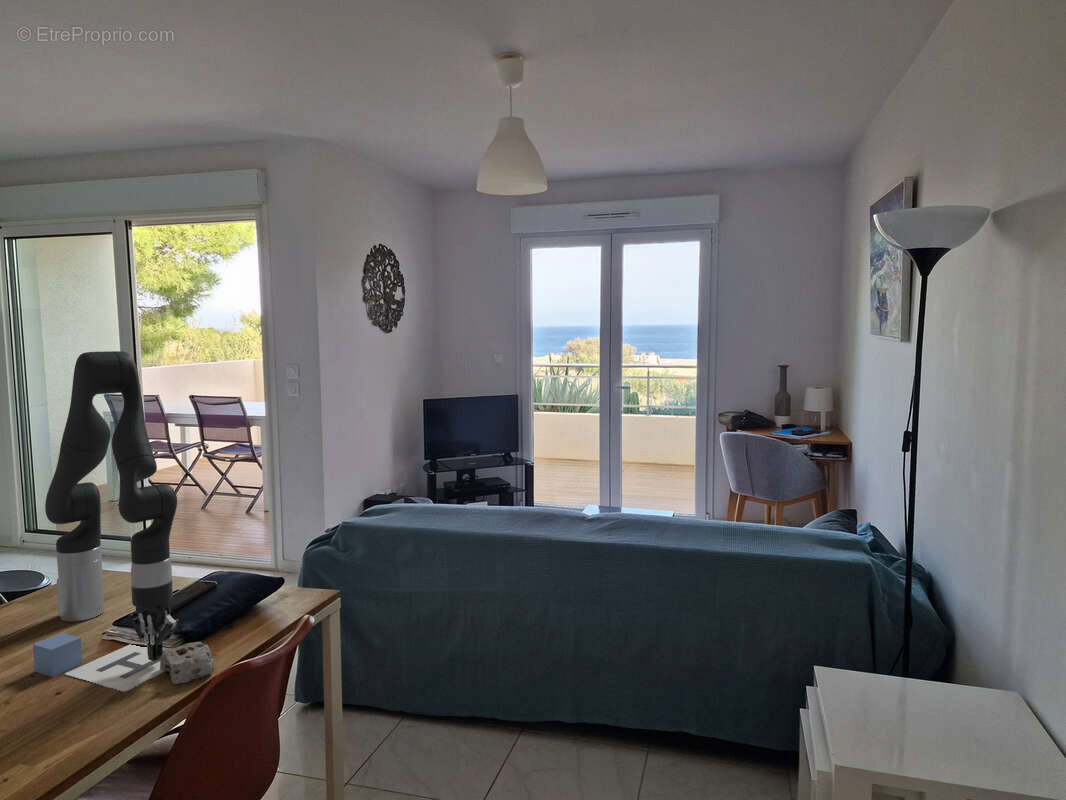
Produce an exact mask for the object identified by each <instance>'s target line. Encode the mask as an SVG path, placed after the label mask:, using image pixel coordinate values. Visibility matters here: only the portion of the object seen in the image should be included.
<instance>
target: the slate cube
mask: <svg viewBox="0 0 1066 800" xmlns="http://www.w3.org/2000/svg"><path fill="white" fill-rule="evenodd" d="M32 650H33V664H34V665H33V666H34V673H37V672H38V674H41V673H42V675H44V674H45V675H44V676H47V675H49V676H48V677H51V676H52V677H51V678H55V677H58V676H60V675H61V673H62V674H65V673H67V672H69V671H72V670H74V669H76V668H78V667H80V666H82V665H83V652H82V651H83V650H82V638H81V637H78V636H76V635H71V634H67V633H64V632H61V633H59V634H56V635H53V636H51V637H48V638H46V639H43V640H41V641H38V642H36V643H33V644H32ZM81 664H82V665H81ZM79 665H80V666H79ZM77 666H78V667H77ZM75 667H76V668H75ZM68 670H69V671H68ZM66 671H67V672H66ZM59 674H60V675H59ZM57 675H58V676H57ZM54 676H55V677H54Z"/></svg>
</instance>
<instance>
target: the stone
mask: <svg viewBox="0 0 1066 800" xmlns="http://www.w3.org/2000/svg"><path fill="white" fill-rule="evenodd" d="M163 649H164V650H163V651H162V655H161V657H160V670H161V671H163V673H166V672H168V673H169V674H170V675H169V676H170V678H171V679H170V680H171V682H172V683H173V684H174V685H176V684H182V683H183V684H185V683H188V682H190V681H192V680H197V679H199V678H202V677H205V676H208V675H210V674H212V673H214V671H215V659H214V657H213V655H212V651H211V649H210V647H209V646H208V644H204V643H203V642H202V641H195V642H189V643H187V642H186V643H185V644H183V645H179V646H177V647H172V648H168V649H167V648H163Z"/></svg>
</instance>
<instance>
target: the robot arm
mask: <svg viewBox="0 0 1066 800" xmlns="http://www.w3.org/2000/svg"><path fill="white" fill-rule="evenodd" d="M72 377H73V378H72V387H71V394H70V395H71V396H70V405H69V409H68V415H67V418H66V423H65V426H64V430H63V433H62V438H61V442H60V448H59V453H58V459H57V463H56V467H55V471H54V474H53V476H52V480H51V482H50V484H49V487H48V491H47V493H46V498H45V504H44V507H45V508H44V509H45V515H46V518H47V520H48V521H49V522H50V523H52V524H54V525H64V524H71V523H76V522H80V523H79V524H78V525H77V526H76V527H75V528H73V529H72V530H71V531H69V532H67V533H65V534H63V535H61V536H59V538H58V539H57V540H56V542H55V547H56V548H55V549H56V563H57V579H56V591H57V592H56V594H57V607H58V609H57V610H58V617H60V620H61V621H62V622H63V621H64V622H81V621H86V620H90V619H94V618H96V616H97V617H98V615H99V616H101V615H102V614H103V613H105V595H104V578H103V562H102V561H103V559H102V558H103V557H102V544H101V536H102V528H101V527H102V526H101V525H102V522H101V520H102V519H101V517H102V515H101V514H102V513H101V512H102V510H101V509H102V508H101V507H102V506H101V494H100V490H99V488H98V486H97V485H96V484H95V483H94V482H81V483H79V482H80V481H82V480H83V479H84V478H85V477H87V476H88V475H89V474H90V473H91V472H92V471H94V470H95V469H97V467H98V466H99V465H100V464H102V462H103V461H104V459H105V458H106V455H107V452H108V449H109V444H110V441H111V449H112V455H113V456H114V461H115V464H116V467H117V468H116V469H117V472H118V477H119V495H118V496H119V497H118V512H119V515H120V516H121V518H122V519H123V520H124V521H126V522H127V523H129V524H137V523H138V524H139V523H142V522H146V521H147V522H148V521H151V520H152V522H151V524H150V525H149V526H147V527H145V528H144V529H142V530H140V531H138V532H135V533H134V534H133V535H132V536H131V538H130V551H131V552H130V553H131V554H130V555H131V557H130V558H131V567H130V584H131V585H130V587H131V604H132V606H134V607H135V610H134V612H131V613H129V614H128V615H127V618H128V620H129V621H130V624H131V626H132V627H133V629H134V631H135V633H136V634H137V637H138V638H139V639H140V640H144V643H145V644H146V645H147V651H148V652H147V653H148V659H149V660H152V661H156V660H158V659H160V657H161V655H162V651H163V649H164V648H163V647H164V646H163V643H164V642H167V641H168V640H170V639H171V637H172V636H173V635H174V633H175V632H176V629H177V628H178V627H179V625H180V620H179V619H178V618H176V619H174V618H173V617H172V616H171V615H172V613H171V612H172V610H171V608H170V603H171V601H172V600H173V597H174V595H173V592H174V591H173V588H174V587H173V571H172V570H173V569H172V563H171V562H172V561H171V553H170V551H171V550H170V549H171V548H170V537H171V531H172V527H173V523H174V519H175V515H176V511H177V507H178V497H177V493H176V491H175V489H174V488H173V487H172V486H171V485H169V484H167V483H160V484H153V485H152V484H151V485H147V486H140V487H138V482H142V481H143V480H146V479H148V478H150V477H152V476H153V475H155V474H156V473H157V470H158V469H157V468H158V466H157V461H156V459H155V455H154V453H153V448H152V446H151V442H150V438H149V436H148V431H147V427H146V419H145V411H144V404H143V397H142V390H141V389H142V388H141V383H140V377H139V372H138V367H137V364H136V361H135V359H134V357H133V355H131V354H130V353H129V352H127V351H121V350H120V351H119V350H118V351H116V350H115V351H114V350H111V351H109V350H107V351H106V350H105V351H104V350H103V351H86V352H83V353H81V354H79V356H78V357H77V359H76V361H75V365H74V370H73V375H72ZM106 394H121V395H122V396H121V397H122V399H123V407H122V408H123V409H122V411H121V414H120V417H119V420H118V423H117V425H116V426H115V429H114V432H113V433H112V434H113V435H112V434H111V428H110V427H109V424H108V422H106V420H105V418H104V417H103V416H102V414H101V413H100V412H99V410H97V408H96V407H95V405H94V403H93V401H94V398H95V396H97V395H106ZM111 435H112V436H111ZM111 437H112V439H111ZM100 614H101V615H100Z"/></svg>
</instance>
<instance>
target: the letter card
mask: <svg viewBox="0 0 1066 800" xmlns="http://www.w3.org/2000/svg"><path fill="white" fill-rule="evenodd" d="M131 644H132V643H130V644H127V645H126V646H122V647H121V648H119V649H117V650H114V651H112V652H110V653H108V654H106V655H103V656H101V657H98V658H97V659H94V660H92V661H90V662H88V663H86V664H82V665H80V666H78V667H76V668H73V669H71V670H69V671H67V672H64V673H63V674H64V676H67V677H70V676H71V678H74V677H75V679H77V678H78V680H81V679H82V680H81V681H84V680H86V681H85V682H88V681H89V682H88V683H91V682H92V684H95V683H96V684H95V685H98V684H99V686H101V685H102V687H105V688H109V689H112V688H113V689H112V690H115V689H116V691H119V690H120V691H119V692H122V691H123V693H126V692H128V691H129V690H131V689H134V688H135V686H136V687H138V686H140V685H142V684H143V682H144V683H146V682H148V681H150V680H151V679H153V678H155V677H157V676H159V675H162V674H163V673H164V672H163V671H161V670H160V659H158V660H156V661H152V660H149V659H148V653H147V652H148V651H147V647H140V646H136V645H131ZM149 679H150V680H149ZM147 680H148V681H147ZM145 681H146V682H145ZM141 683H142V684H141ZM139 684H140V685H139ZM125 691H126V692H125Z"/></svg>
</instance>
